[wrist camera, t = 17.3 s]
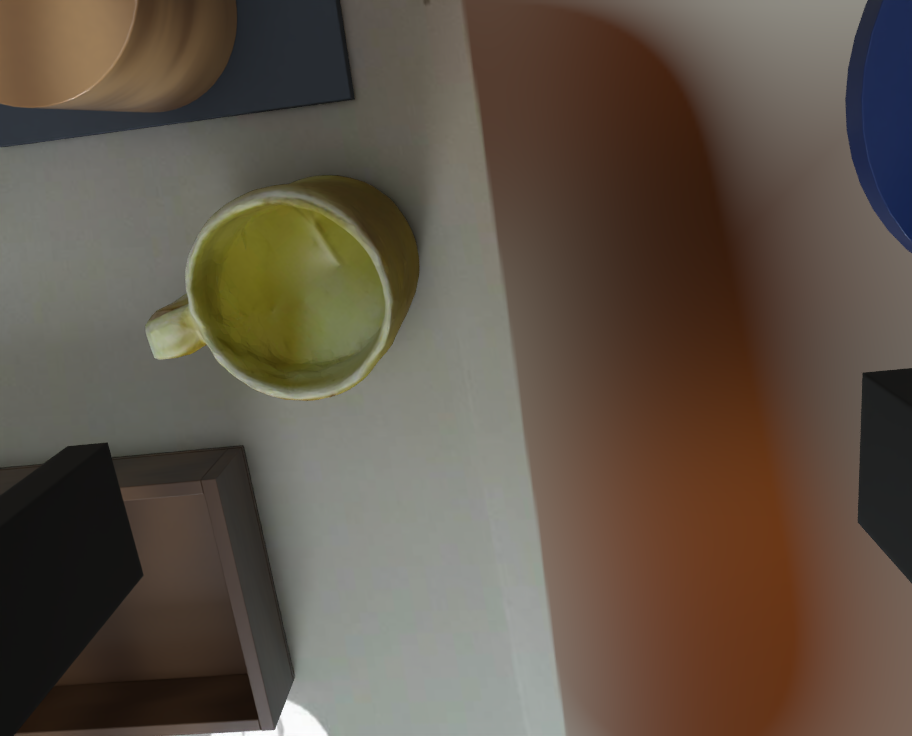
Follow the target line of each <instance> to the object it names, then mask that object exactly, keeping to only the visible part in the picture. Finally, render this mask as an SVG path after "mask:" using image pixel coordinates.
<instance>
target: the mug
mask: <svg viewBox="0 0 912 736" xmlns="http://www.w3.org/2000/svg"><path fill="white" fill-rule="evenodd" d="M418 277H419V255H418V250H417V244H416V241H415V238H414V235H413V233H412V230H411V228H410V226H409V224H408V223H407V221H406V219H405V217H404V216H403V214H402V213H401V212H400V210H399V209H398V208H397V206H396V205H395V204H394V202H393V201H392V200H391V199H390V198H388V197H387V196H386V195H384V194H383V193H382V192H380V191H379V190H378V189H376V188H375V187H373V186H371V185H369V184H367V183H365V182H362V181H359V180H356V179H352V178H348V177H342V176H333V175H322V176H313V177H308V178H304V179H301V180H298V181H295V182H292V183H290V184H282V185H274V186H270V187H265V188H261V189H256V190H253V191H251V192H248V193H246V194H244V195H242V196H240V197H238V198H236V199H234V200H233V201H231V202H229V203H228V204H226V205H225V206H223V207H222V208H221V209H219V210H218V211H217V212H216V213H215V214H214V215H213V216H212V217H211V218H210V219H209V220H208V221H207V222H206V223H205V225H204V226H203V228H202V230H201V231H200V233H199V235H198V236H197V238H196V240H195V242H194V244H193V246H192V249H191V251H190V253H189V255H188V260H187V265H186V272H185V282H186V291H187V294H185V295H183V296H182V297H181V298H179V299H178V300H176V301H175V302H174V303H172V304H170V305H167V306H165V307H163V308H161V309H159V310H157V311H156V312H155V313H154V314H153V315H152V316H151V317H150V319H149V320H148V322H147V324H146V326H145V330H146V335H147V338H148V341H149V344H150V348H151V351H152V353H153V355H154V358H157V359H171V358H178V357H181V356H185V355H190V354H192V353H194V352H196V351H197V350H199V349H200V348H202V347H203V346H206V345H208V347H209V348H210V350H211V351H212V353H213V355H214V357H215V358H216V360H217V361H218V362H219V363H220V365H222V366H223V367H224V368H225V369H226V370H227V371H229V372H230V373H231V374H232V375H233V376H235V377H236V378H237V379H239V380H240V381H242V382H243V383H245V384H246V385H248V386H249V387H251V388H253V389H255V390H256V391H259V392H262V393H264V394H267V395H269V396H273V397H277V398H281V399H285V400H305V401H308V400H318V399H323V398H327V397H332V396H335V395H338V394H341V393H343V392H345V391H347V390H349V389H351V388H352V387H354V386H355V385H357V384H358V383H359V382H361V381H362V380H363V379H364V378H366V377H367V375H368V374H369V373H370V372H371V370H372V369H373V368H374V366H375V365H376V364H377V362H378V361H379V360H380V359H381V358H382V356H383V355H384V354H385V353H386V352H387V350H388V349H389V348H390V346H391V345H392V344H393V341H394V339H395V336H396V334H397V332H398V330H399V329H400V327H401V324H402V322H403V320H404V318H405V316H406V314H407V312H408V310H409V307H410V305H411V302H412V300H413V297H414V295H415V292H416V287H417V282H418Z"/></svg>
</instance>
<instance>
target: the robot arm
mask: <svg viewBox="0 0 912 736" xmlns="http://www.w3.org/2000/svg"><path fill="white" fill-rule="evenodd" d="M860 440H861V442H860V470H859V500H858V523H859V524H860V525H861V526H862V528H863V529H864V530H865V531H866V532H867V533H868V534H869V535H870V537H871V538H872V539H873V540H874V541H875V542H876V543H877V545H878V546H879V547H880V548H881V549H882V550H883V551H884V552H885V554H886V555H887V556H888V557H889V558H890V559H891V560H892V561H893V562H894V564H895V565H896V566H897V567H898V568H899V569H900V571H901V572H902V573H903V574H904V575H905V576H906V577H907V579H909V581H910V582H911V583H912V368H909V369H898V370H887V371H877V372H866V373H863V379H862V409H861V439H860ZM143 576H144V574H143V571H142V567H141V563H140V560H139V556H138V552H137V549H136V545H135V541H134V538H133V534H132V530H131V527H130V523H129V519H128V516H127V512H126V508H125V505H124V501H123V497H122V494H121V490H120V487H119V483H118V479H117V476H116V472H115V468H114V465H113V461H112V457H111V454H110V450H109V446H108V443H98V444H87V445H76V446H67V447H66V448H65V449H63V450H62V451H61V452H59V453H58V454H56V455H55V456H54V457H52V458H51V459H50V460H48V461H47V462H45V463H44V464H43V465H41V466H40V467H39V468H37V469H36V470H34V471H33V472H32V473H30V474H29V475H28V476H26V477H25V478H23V479H22V480H21V481H19V482H18V483H17V484H15V485H14V486H12V487H11V488H10V489H8V490H7V491H6V492H4V493H3V494H1V495H0V736H14V735H15V734H16V732H17V731H18V730H19V729H20V728H21V726H22V725H23V724H24V723H25V721H26V720H27V719H28V718H29V716H30V715H31V714H32V713H33V712H34V710H35V709H36V708H37V707H38V705H39V704H40V703H41V702H42V700H43V699H44V698H45V697H46V695H47V694H48V693H49V692H50V691H51V689H52V688H53V687H54V686H55V684H56V683H57V682H58V681H59V679H60V678H61V677H62V676H63V674H64V673H65V672H66V671H67V670H68V668H69V667H70V666H71V665H72V663H73V662H74V661H75V660H76V658H77V657H78V656H79V655H80V653H81V652H82V651H83V650H84V649H85V647H86V646H87V645H88V644H89V642H90V641H91V640H92V639H93V637H94V636H95V635H96V634H97V633H98V631H99V630H100V629H101V628H102V626H103V625H104V624H105V623H106V621H107V620H108V619H109V618H110V616H111V615H112V614H113V613H114V612H115V610H116V609H117V608H118V607H119V605H120V604H121V603H122V602H123V600H124V599H125V598H126V597H127V595H128V594H129V593H130V592H131V591H132V589H133V588H134V587H135V586H136V584H137V583H138V582H139V581H140V579H141V578H142V577H143Z"/></svg>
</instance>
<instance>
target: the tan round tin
mask: <svg viewBox="0 0 912 736" xmlns="http://www.w3.org/2000/svg"><path fill="white" fill-rule="evenodd" d="M236 28H237V7H236V0H0V104H4V105H8V106H13V107H23V108H41V109H69V110H96V111H123V112H150V113H153V112H165V111H170V110H174V109H177V108H180V107H183V106H185V105H188V104H189V103H191V102H193V101H195V100H197V99H198V98H199V97H200V96H202V95H203V94H204V93H206V92H207V91H208V90H209V89H210V88H211V87H212V86H213V85H214V84H215V82H216V81H217V79H218V78H219V77H220V75H221V74H222V72H223V70H224V69H225V67H226V65H227V63H228V61H229V58H230V55H231V53H232V50H233V46H234V41H235V37H236Z"/></svg>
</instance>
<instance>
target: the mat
mask: <svg viewBox="0 0 912 736" xmlns="http://www.w3.org/2000/svg"><path fill="white" fill-rule="evenodd" d="M236 7H237V28H236V37H235V41H234V46H233V50H232V53H231V55H230V58H229V61H228V63H227V65H226V67H225V69H224V70H223V72H222V74H221V75H220V77H219V78H218V79H217V81H216V82H215V84H214V85H213V86H212V87H211V88H210V89H209V90H208V91H207V92H206V93H204V94H203V95H202V96H200V97H199V98H198V99H197V100H195V101H193V102H191V103H189V104H188V105H185V106H183V107H180V108H177V109H174V110H170V111H165V112H153V113H150V112H123V111H96V110H69V109H41V108H23V107H13V106H8V105H4V104H0V147H8V146H15V145H23V144H30V143H37V142H45V141H52V140H59V139H67V138H74V137H81V136H89V135H96V134H104V133H111V132H118V131H126V130H133V129H140V128H148V127H155V126H162V125H170V124H177V123H184V122H192V121H199V120H207V119H214V118H221V117H229V116H236V115H243V114H251V113H258V112H265V111H273V110H280V109H287V108H295V107H302V106H310V105H317V104H324V103H332V102H339V101H346V100H354V99H355V98H354V91H353V85H352V78H351V72H350V65H349V59H348V52H347V46H346V39H345V33H344V26H343V20H342V13H341V7H340V0H236Z"/></svg>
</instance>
